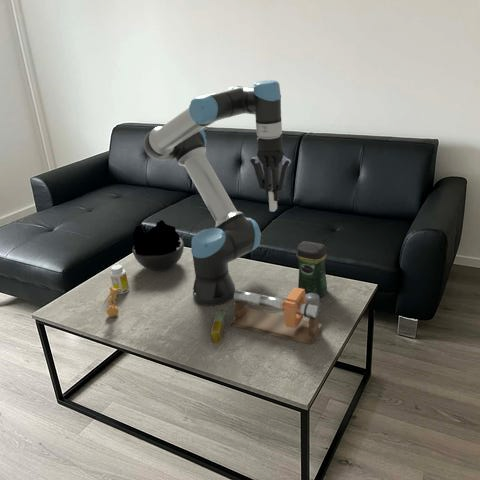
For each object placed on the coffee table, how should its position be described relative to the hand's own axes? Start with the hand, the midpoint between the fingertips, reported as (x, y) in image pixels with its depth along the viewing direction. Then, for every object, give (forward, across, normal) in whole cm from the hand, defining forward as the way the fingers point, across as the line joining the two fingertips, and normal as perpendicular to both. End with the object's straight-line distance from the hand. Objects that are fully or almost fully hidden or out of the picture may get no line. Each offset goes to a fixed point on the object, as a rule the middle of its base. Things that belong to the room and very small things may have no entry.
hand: (273, 209), depth 152 cm
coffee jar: (+33, +10, +7) cm, 35 cm away
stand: (+32, +6, -16) cm, 37 cm away
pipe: (+26, +6, -16) cm, 31 cm away
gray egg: (+32, +14, -5) cm, 36 cm away
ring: (+29, +13, -16) cm, 35 cm away
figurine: (+33, -47, -30) cm, 65 cm away
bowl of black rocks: (+33, -52, +4) cm, 62 cm away
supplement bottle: (+33, -56, -16) cm, 67 cm away
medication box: (+33, -10, -24) cm, 42 cm away
